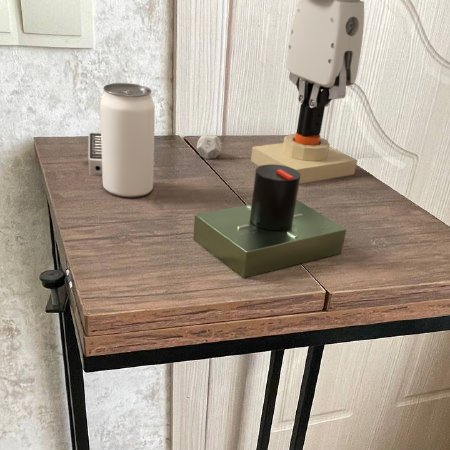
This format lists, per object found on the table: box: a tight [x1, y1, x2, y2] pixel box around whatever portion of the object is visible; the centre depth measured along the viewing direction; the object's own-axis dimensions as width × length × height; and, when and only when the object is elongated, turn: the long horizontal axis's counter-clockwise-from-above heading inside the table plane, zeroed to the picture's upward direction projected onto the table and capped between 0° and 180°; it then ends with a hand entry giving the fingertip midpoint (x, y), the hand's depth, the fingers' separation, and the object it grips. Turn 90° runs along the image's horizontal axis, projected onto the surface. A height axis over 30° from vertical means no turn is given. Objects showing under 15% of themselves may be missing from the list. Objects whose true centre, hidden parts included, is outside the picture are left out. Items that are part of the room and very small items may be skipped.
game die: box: [196, 133, 222, 160], centre depth 93 cm, size 4×4×3 cm
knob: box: [250, 164, 300, 230], centre depth 68 cm, size 5×5×6 cm
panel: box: [193, 199, 347, 279], centre depth 71 cm, size 14×10×3 cm
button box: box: [250, 133, 358, 185], centre depth 93 cm, size 12×10×4 cm
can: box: [99, 82, 156, 199], centre depth 78 cm, size 6×6×12 cm
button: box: [295, 131, 321, 146], centre depth 91 cm, size 4×4×2 cm
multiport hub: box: [87, 132, 103, 177], centre depth 88 cm, size 4×11×2 cm, turn 9°
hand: (308, 134), depth 91 cm, fingers closed
